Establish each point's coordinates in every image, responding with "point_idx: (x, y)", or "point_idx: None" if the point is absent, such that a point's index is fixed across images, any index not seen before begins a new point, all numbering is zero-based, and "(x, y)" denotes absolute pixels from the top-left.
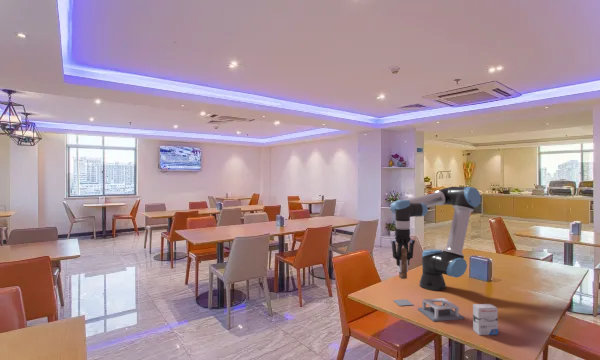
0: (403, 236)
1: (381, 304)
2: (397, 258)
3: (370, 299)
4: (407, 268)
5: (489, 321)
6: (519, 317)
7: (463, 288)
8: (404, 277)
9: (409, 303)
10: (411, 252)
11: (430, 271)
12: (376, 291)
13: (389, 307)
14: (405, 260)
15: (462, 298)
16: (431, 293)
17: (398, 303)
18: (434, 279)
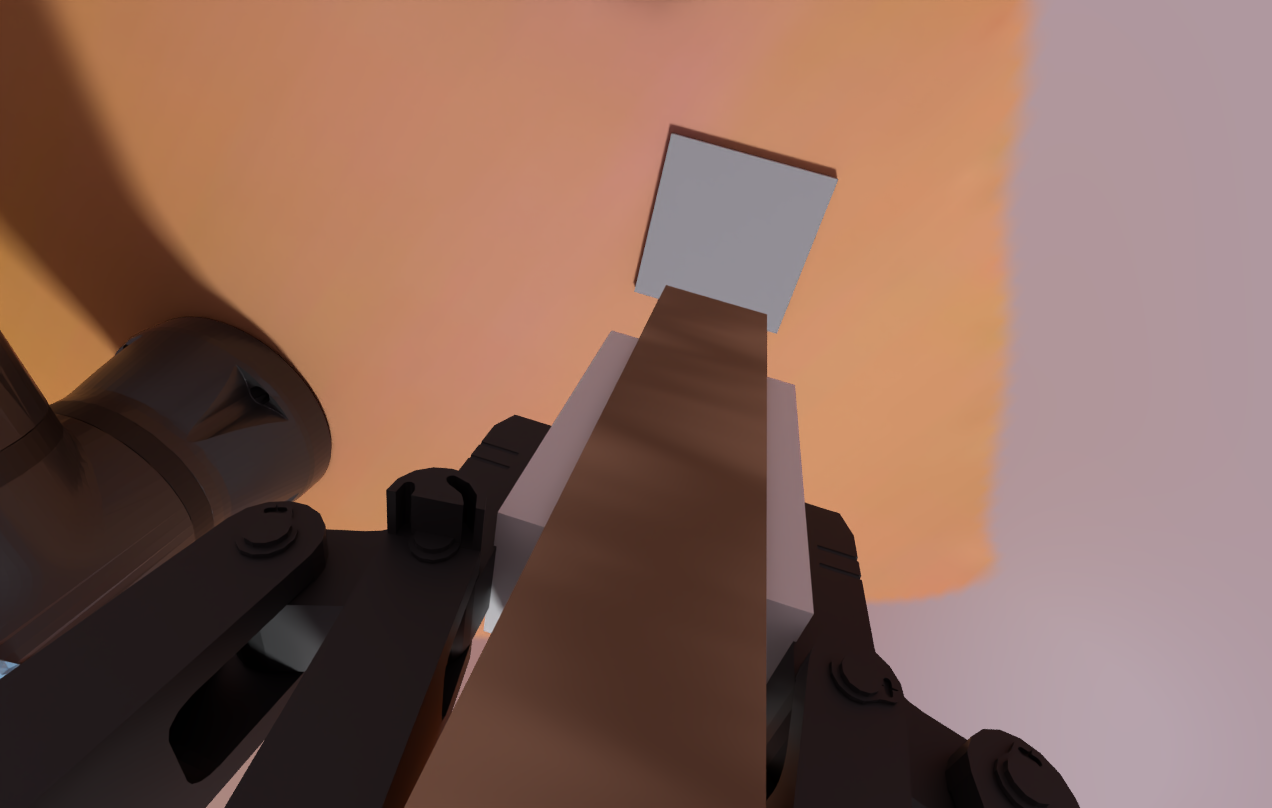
0: None
1: (967, 309)
2: (896, 734)
3: (945, 451)
4: (602, 368)
5: None
6: None
7: (8, 267)
8: (711, 306)
9: (691, 180)
10: (43, 760)
11: (131, 469)
12: None
13: (968, 202)
14: (610, 524)
15: (93, 66)
16: (319, 304)
17: (799, 234)
18: (172, 396)
